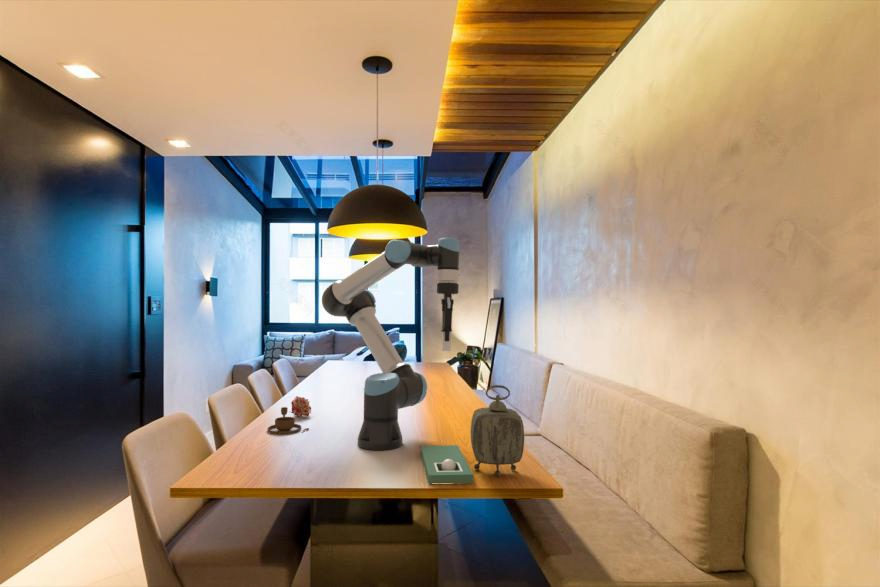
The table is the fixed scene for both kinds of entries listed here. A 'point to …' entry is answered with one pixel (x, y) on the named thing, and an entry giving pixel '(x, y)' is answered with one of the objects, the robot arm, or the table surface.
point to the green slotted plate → (435, 458)
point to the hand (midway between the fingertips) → (446, 350)
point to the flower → (300, 407)
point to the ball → (448, 465)
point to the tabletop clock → (497, 434)
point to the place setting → (285, 424)
